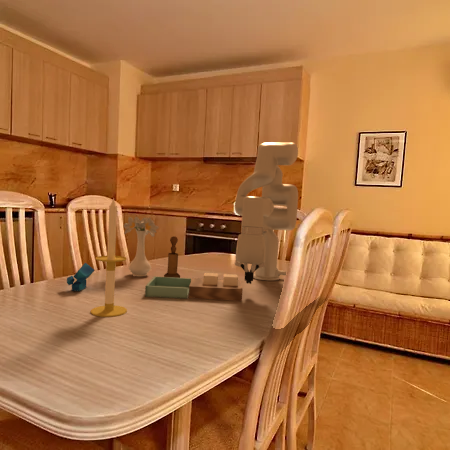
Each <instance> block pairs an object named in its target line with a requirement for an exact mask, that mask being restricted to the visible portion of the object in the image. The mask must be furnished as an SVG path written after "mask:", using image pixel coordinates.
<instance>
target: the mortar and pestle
mask: <svg viewBox="0 0 450 450" xmlns="http://www.w3.org/2000/svg"><path fill="white" fill-rule="evenodd" d="M169 240H170V241H169V242H170V244H171V246H170V252H168V256H167V258H168V260H167V272H166V273H165V274H163V277H174V278H181V275H180V273H178V262H179V253H177V252H176V251H177V247H176V244H178V241H179V239H178V237H177V236H171V237H170V239H169Z"/></svg>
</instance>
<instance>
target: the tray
mask: <svg viewBox="0 0 450 450" xmlns="http://www.w3.org/2000/svg"><path fill="white" fill-rule="evenodd" d="M191 280H192V278H190V277H187V278H186V277H180V278H174V277H164V276H152V278H151V279H150V280H149V281H148V283H146V285H145V289H144V290H145V291H144V297H149V298H150V297H152V298H167V299H169V298H170V299H188V298H189V286H190V283H191Z"/></svg>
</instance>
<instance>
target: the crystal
mask: <svg viewBox="0 0 450 450" xmlns="http://www.w3.org/2000/svg"><path fill="white" fill-rule="evenodd" d="M94 272H95V269H94V268H93V267H92V266H90V265H89V264H88V263H87V262H84V263H83V265H81V267H80V268H79V269H78V271H76V273H74V275H70V276H68V277H66V283H67V285H68V286H71V291H72V292H80V291H82V290H84V289H86V288H87V279H88V278H90V276H91V275H92V274H93V273H94Z"/></svg>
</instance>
